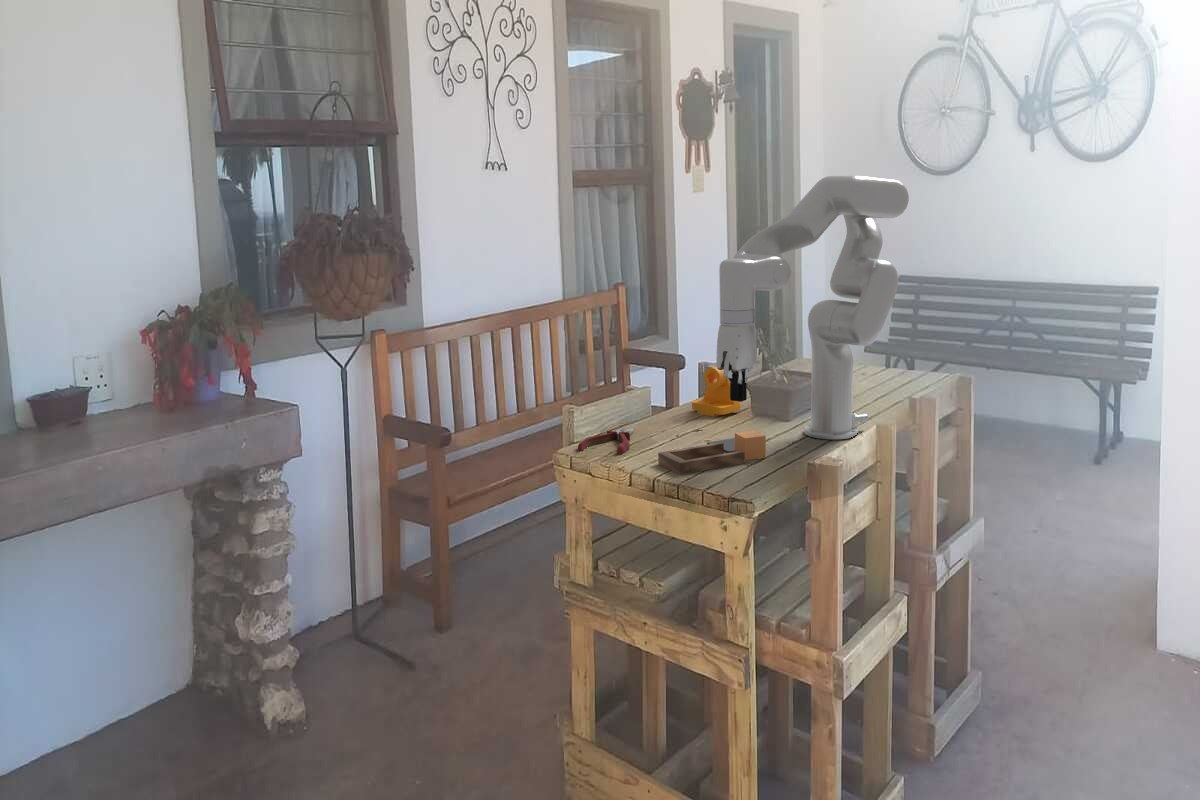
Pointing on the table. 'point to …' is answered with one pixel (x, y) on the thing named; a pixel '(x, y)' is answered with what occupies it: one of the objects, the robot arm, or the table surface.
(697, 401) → the bracket
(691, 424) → the table surface
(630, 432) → the pliers
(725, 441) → the rubber mat
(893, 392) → the table surface
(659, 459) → the brown wooden tray
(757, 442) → the orange block
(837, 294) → the robot arm
